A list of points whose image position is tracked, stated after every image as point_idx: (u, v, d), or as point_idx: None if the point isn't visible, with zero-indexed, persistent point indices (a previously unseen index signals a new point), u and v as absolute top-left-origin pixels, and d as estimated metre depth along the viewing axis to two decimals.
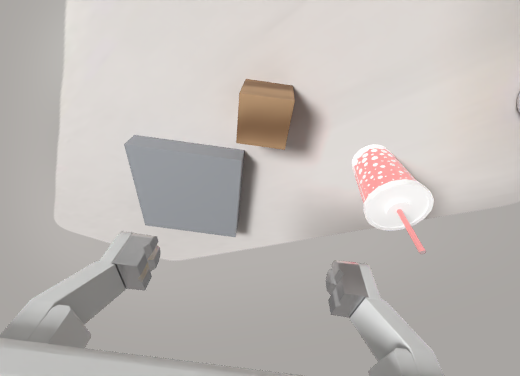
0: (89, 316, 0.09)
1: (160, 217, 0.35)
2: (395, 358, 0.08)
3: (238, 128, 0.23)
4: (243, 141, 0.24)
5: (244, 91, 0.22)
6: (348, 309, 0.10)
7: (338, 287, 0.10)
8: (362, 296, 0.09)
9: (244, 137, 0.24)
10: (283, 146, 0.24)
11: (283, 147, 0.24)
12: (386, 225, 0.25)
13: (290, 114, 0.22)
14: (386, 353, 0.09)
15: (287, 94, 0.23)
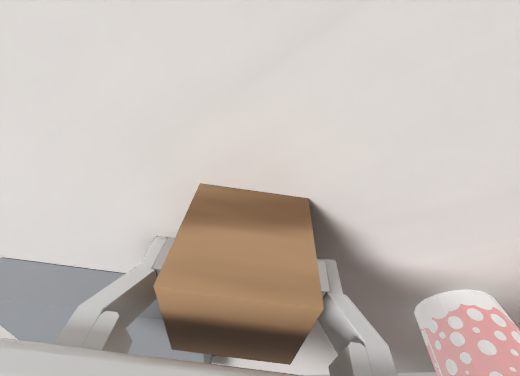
0: (129, 321, 0.09)
1: None
2: (348, 352, 0.08)
3: (170, 334, 0.09)
4: (188, 348, 0.10)
5: (173, 269, 0.07)
6: None
7: None
8: (324, 291, 0.09)
9: (189, 345, 0.10)
10: (287, 361, 0.10)
11: (287, 362, 0.10)
12: None
13: (308, 326, 0.08)
14: (346, 348, 0.09)
15: (300, 261, 0.08)
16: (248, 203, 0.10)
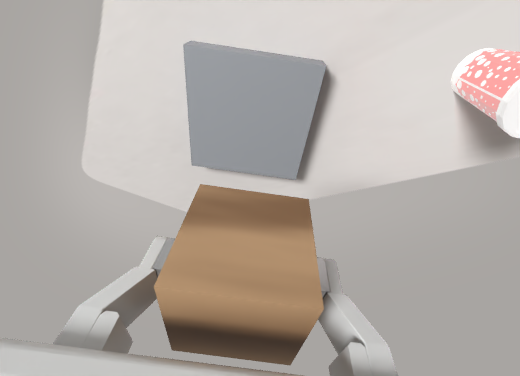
0: (129, 321, 0.09)
1: (211, 153, 0.30)
2: (348, 352, 0.08)
3: (170, 335, 0.09)
4: (188, 349, 0.10)
5: (173, 270, 0.07)
6: None
7: None
8: (324, 291, 0.09)
9: (189, 345, 0.10)
10: (287, 362, 0.10)
11: (287, 363, 0.10)
12: None
13: (308, 327, 0.08)
14: (346, 348, 0.09)
15: (300, 262, 0.08)
16: (248, 204, 0.10)
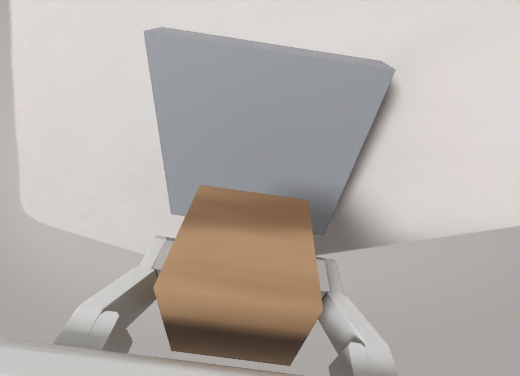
0: (129, 321, 0.09)
1: None
2: (348, 352, 0.08)
3: (170, 335, 0.09)
4: (188, 350, 0.10)
5: (173, 271, 0.07)
6: None
7: None
8: (324, 291, 0.09)
9: (189, 346, 0.10)
10: (287, 362, 0.10)
11: (286, 363, 0.10)
12: None
13: (308, 328, 0.08)
14: (346, 348, 0.09)
15: (299, 263, 0.08)
16: (248, 204, 0.10)
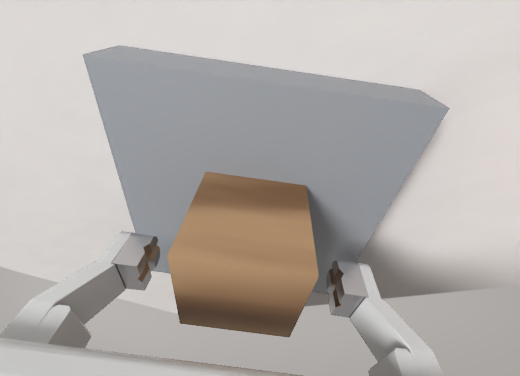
0: (89, 316, 0.09)
1: None
2: (395, 358, 0.08)
3: (179, 306, 0.10)
4: (195, 322, 0.11)
5: (184, 242, 0.08)
6: (348, 309, 0.10)
7: (338, 287, 0.10)
8: (362, 296, 0.09)
9: (196, 318, 0.10)
10: (286, 333, 0.11)
11: (286, 334, 0.11)
12: None
13: (305, 295, 0.09)
14: (386, 353, 0.09)
15: (298, 238, 0.09)
16: (250, 189, 0.11)
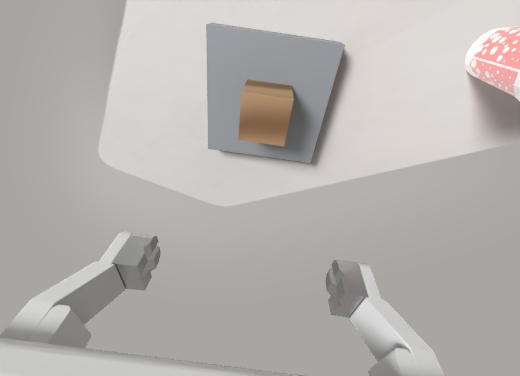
0: (89, 316, 0.09)
1: (228, 136, 0.31)
2: (395, 358, 0.08)
3: (240, 125, 0.25)
4: (245, 138, 0.26)
5: (246, 90, 0.23)
6: (348, 309, 0.10)
7: (338, 287, 0.10)
8: (362, 296, 0.09)
9: (246, 134, 0.25)
10: (283, 143, 0.26)
11: (283, 144, 0.26)
12: None
13: (289, 112, 0.23)
14: (386, 353, 0.09)
15: (287, 93, 0.24)
16: (267, 84, 0.26)
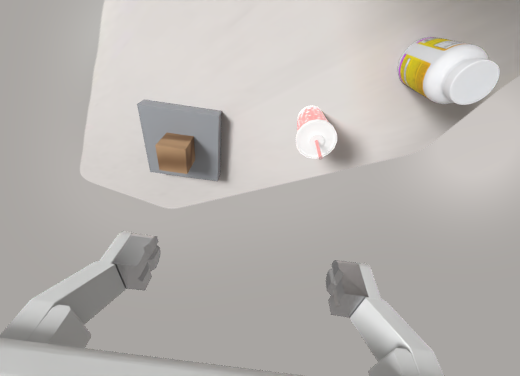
0: (89, 316, 0.09)
1: None
2: (395, 358, 0.08)
3: (158, 162, 0.42)
4: (163, 169, 0.42)
5: (159, 143, 0.40)
6: (348, 309, 0.10)
7: (338, 288, 0.10)
8: (362, 296, 0.09)
9: (163, 167, 0.42)
10: (186, 172, 0.43)
11: (186, 172, 0.43)
12: (311, 154, 0.37)
13: (184, 156, 0.40)
14: (386, 353, 0.09)
15: (184, 144, 0.41)
16: (177, 136, 0.43)
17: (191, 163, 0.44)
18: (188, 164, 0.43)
